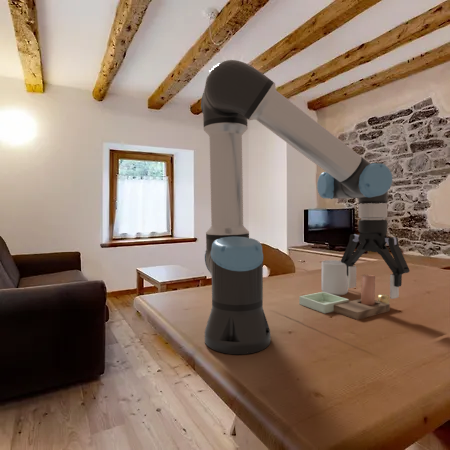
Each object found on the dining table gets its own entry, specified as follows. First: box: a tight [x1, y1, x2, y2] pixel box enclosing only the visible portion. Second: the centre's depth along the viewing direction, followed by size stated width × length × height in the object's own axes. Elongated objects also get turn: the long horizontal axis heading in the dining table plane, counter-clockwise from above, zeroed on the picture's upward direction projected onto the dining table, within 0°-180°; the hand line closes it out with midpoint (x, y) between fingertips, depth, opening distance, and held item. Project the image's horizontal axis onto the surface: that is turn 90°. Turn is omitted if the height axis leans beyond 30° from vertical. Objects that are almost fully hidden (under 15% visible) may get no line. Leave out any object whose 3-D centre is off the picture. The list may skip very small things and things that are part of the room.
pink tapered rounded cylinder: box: [360, 274, 376, 306], centre depth 94 cm, size 4×4×10 cm
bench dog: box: [377, 293, 390, 304], centre depth 96 cm, size 3×3×4 cm
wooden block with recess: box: [333, 298, 391, 321], centre depth 93 cm, size 14×8×3 cm, turn 120°
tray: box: [298, 291, 350, 315], centre depth 98 cm, size 10×10×3 cm
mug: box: [320, 259, 349, 296], centre depth 115 cm, size 12×9×11 cm
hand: (371, 292), depth 93 cm, fingers open, 13 cm apart
